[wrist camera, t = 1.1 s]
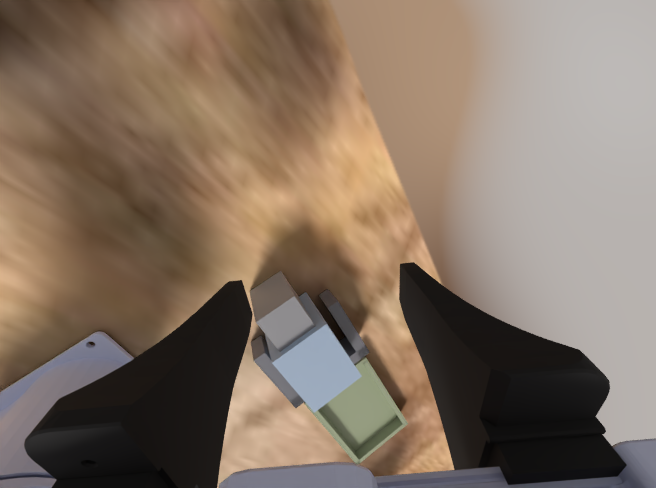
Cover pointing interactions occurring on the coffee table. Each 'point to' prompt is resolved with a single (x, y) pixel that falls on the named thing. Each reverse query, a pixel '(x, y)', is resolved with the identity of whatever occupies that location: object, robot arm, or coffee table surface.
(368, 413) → the tray
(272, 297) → the stepped two-tone block
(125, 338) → the coffee table surface
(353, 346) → the bay
